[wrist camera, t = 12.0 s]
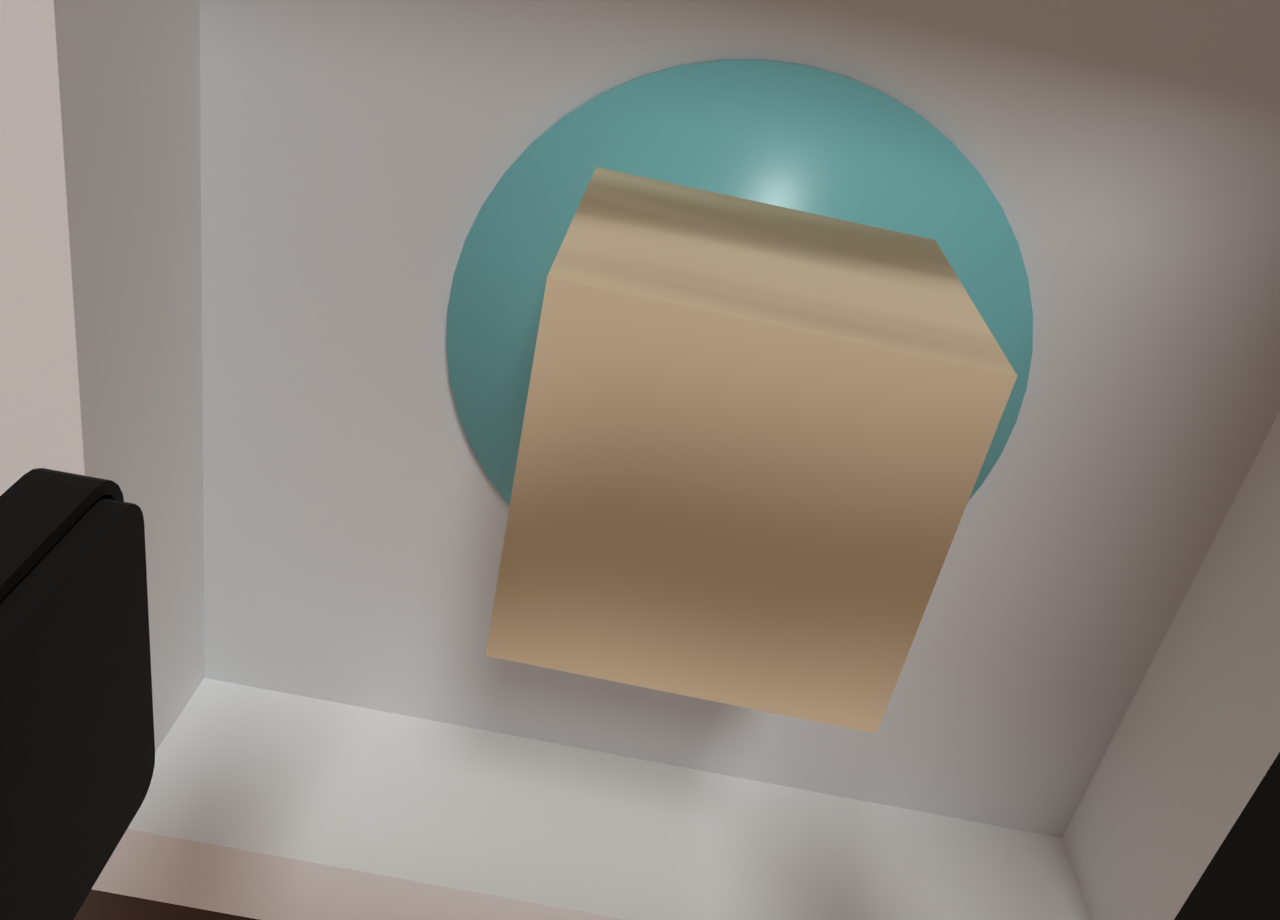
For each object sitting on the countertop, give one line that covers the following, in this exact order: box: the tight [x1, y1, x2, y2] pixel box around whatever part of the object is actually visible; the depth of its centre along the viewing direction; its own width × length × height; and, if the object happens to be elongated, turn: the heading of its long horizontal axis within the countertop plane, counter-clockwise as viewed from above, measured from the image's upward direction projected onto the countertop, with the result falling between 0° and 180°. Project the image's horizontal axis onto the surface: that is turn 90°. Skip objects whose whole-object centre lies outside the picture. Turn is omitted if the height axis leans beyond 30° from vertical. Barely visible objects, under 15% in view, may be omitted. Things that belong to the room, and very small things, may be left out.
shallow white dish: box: [0, 0, 1280, 920], centre depth 16 cm, size 20×20×4 cm
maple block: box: [485, 167, 1017, 734], centre depth 15 cm, size 5×5×5 cm
